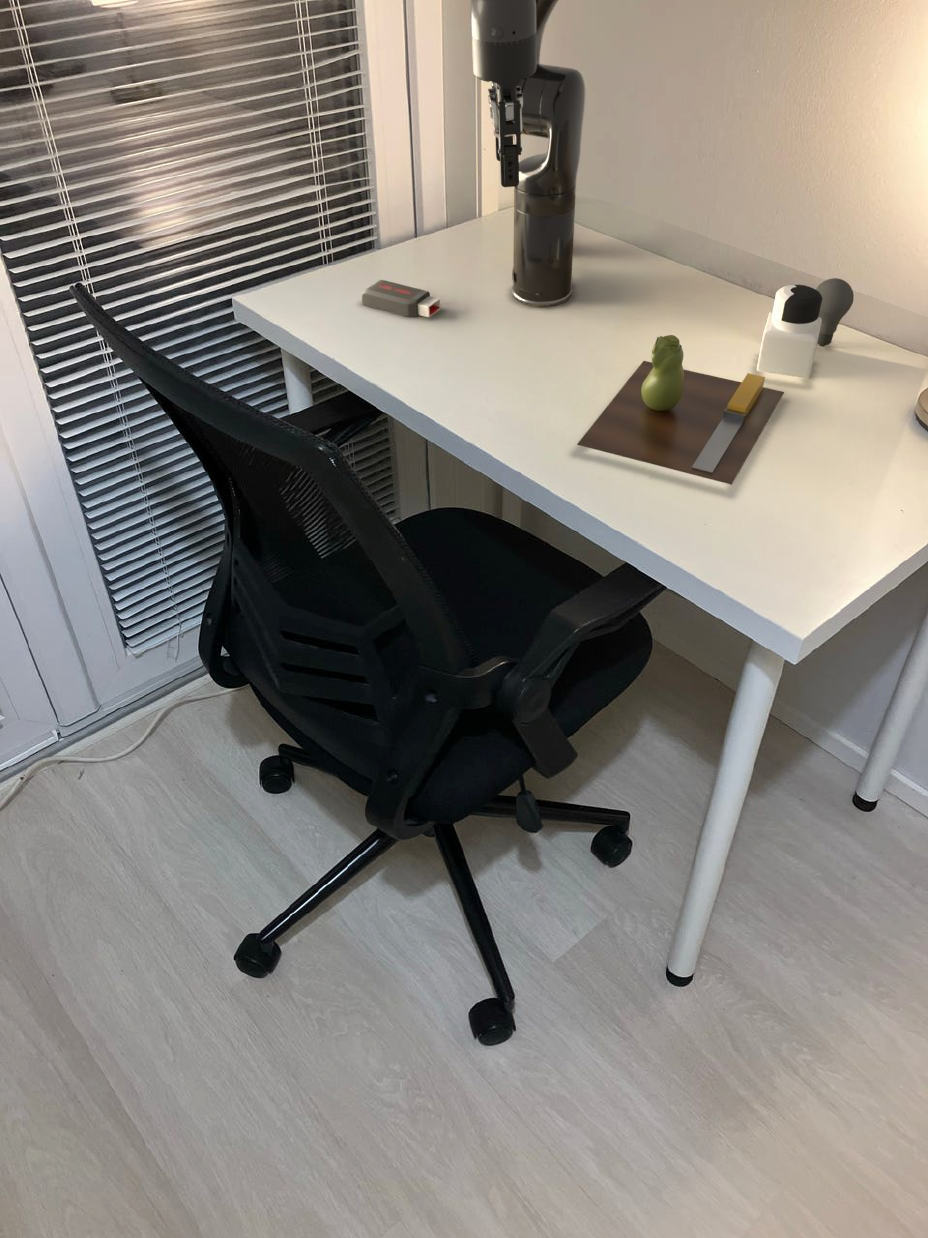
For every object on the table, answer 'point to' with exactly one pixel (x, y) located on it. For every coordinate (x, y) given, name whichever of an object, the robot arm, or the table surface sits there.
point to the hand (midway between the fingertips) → (507, 172)
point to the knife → (730, 423)
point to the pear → (664, 375)
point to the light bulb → (833, 307)
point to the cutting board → (679, 424)
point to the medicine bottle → (791, 332)
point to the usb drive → (400, 299)
